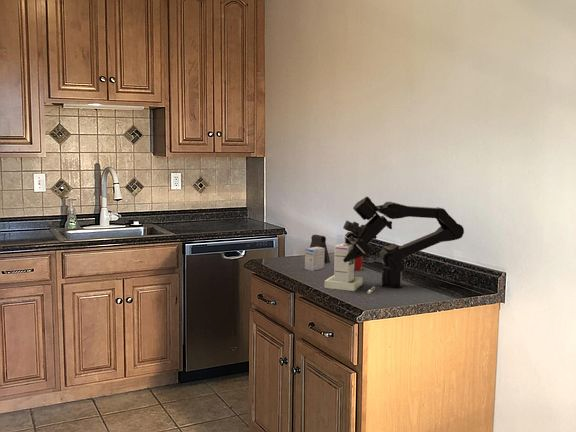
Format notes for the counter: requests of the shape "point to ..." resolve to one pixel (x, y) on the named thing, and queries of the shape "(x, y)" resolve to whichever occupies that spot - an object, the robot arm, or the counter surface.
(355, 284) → the tray
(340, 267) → the syrup box
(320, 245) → the phone stand
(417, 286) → the counter surface
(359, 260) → the paper cup
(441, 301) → the counter surface
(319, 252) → the medicine box
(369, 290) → the rod
